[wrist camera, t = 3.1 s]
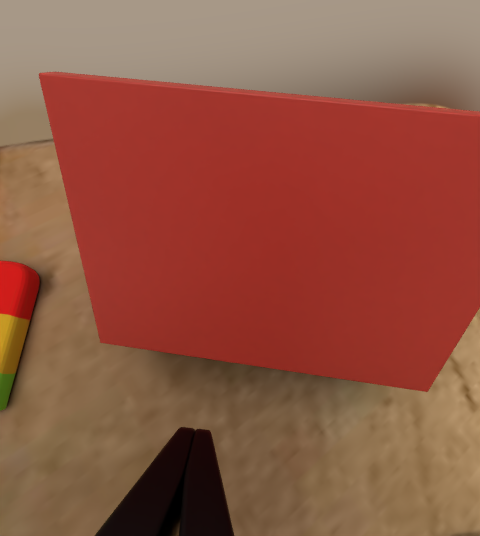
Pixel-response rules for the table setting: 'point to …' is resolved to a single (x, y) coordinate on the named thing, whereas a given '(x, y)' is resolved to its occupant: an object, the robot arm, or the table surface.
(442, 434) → the table surface
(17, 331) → the popsicle
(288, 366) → the lid
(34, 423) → the table surface
